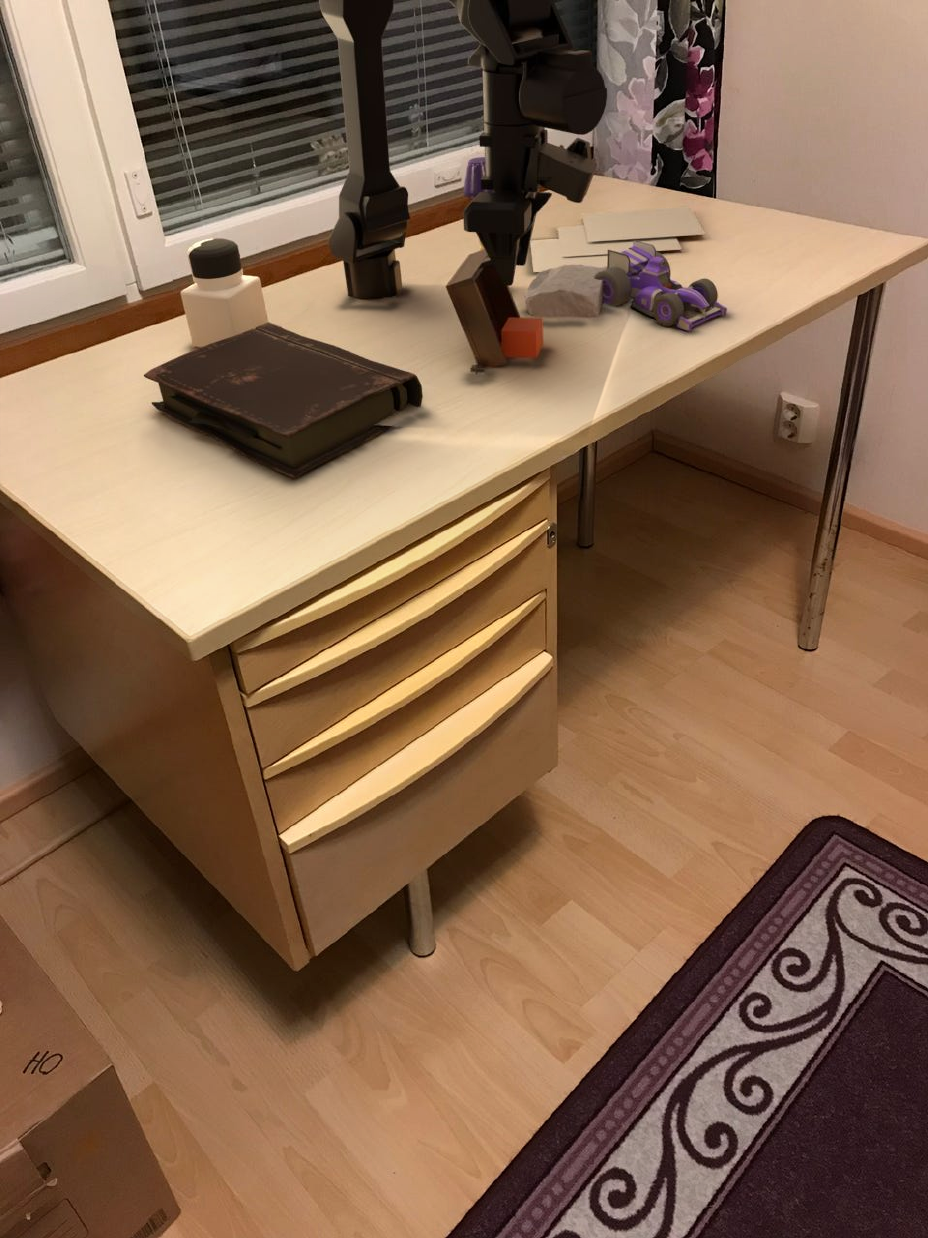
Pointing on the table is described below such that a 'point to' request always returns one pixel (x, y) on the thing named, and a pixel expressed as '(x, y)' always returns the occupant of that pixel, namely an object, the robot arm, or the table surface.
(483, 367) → the hinge brackets
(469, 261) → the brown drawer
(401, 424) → the table surface
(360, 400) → the diary
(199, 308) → the medicine bottle
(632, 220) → the paper stack
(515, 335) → the cube
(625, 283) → the toy race car
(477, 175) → the toy lamp
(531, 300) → the stone block
